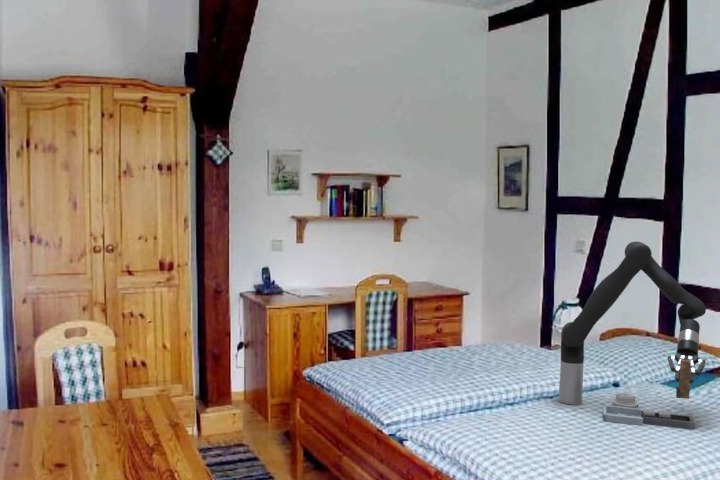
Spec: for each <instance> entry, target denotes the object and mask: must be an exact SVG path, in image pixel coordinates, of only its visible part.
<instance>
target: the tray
mask: <svg viewBox="0 0 720 480" xmlns="http://www.w3.org/2000/svg"><path fill="white" fill-rule="evenodd" d="M641 411H642V409H641V408H637V407H636V408H627V407H618V406H615V405H606V404H603V405H602V421H603V422H609V423H618V424H627V425H633V424H635V425H636V424H637V425H636V426H642V425H644V424H643V418H641V417H638V416H637V417H635V416H636V415H641ZM609 413H610V414H609ZM618 413H620V414H621V415H620V414H618ZM627 414H629V416H627Z"/></svg>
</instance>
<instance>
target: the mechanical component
mask: <svg viewBox="0 0 720 480" xmlns="http://www.w3.org/2000/svg"><path fill="white" fill-rule="evenodd" d="M611 404H612V406H619V407H627V408H634V407H636V408H638V407H639V402H637V401H636V396H635V395H634V394H631V393H627V392H619V393H616V394H615V398H614V399H612V402H611ZM637 406H638V407H637Z"/></svg>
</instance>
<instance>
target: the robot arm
mask: <svg viewBox="0 0 720 480" xmlns="http://www.w3.org/2000/svg"><path fill="white" fill-rule="evenodd" d="M652 254H653V253H652V250H651V248H650V246H648V245H647V244H645V243H643V242H642V241H641V242H640V241H631V242H629V243H628V244H627V245H626V247H625V248H624V256H625V257H624V258H623V259H622V261H621V262H620V264H619V265H618V266H617V267H616V268H615V269H614V270H613V271H612V272H611V273H609V274H608V275H607V276H606V277H605V278H603V279H602V280H601V282H600V283H598V285H597V286H596V287H595V289H593V291H592V292H591V294H590V295H589V297H588V298H587V300H586V303H585V304H584V306H583V308H582V309H581V311H580V312H579V314H578V316H577V317H575V319H574V320H572V321H570V322H567V323H565V324H564V325H563V327H562V328H561V337H560V371H559V385H558V386H559V387H558V389H559V390H558V403H562V404H565V405H575V406H576V405H581V404H583V390H584V389H583V387H584V385H583V384H584V364H585V363H584V360H585V351H584V350H585V349H584V346H585V341H586V339H587V338H588V336H589V334H590V332H591V330H593V328H594V326H595V325H596V324H597V322H599V321H600V319H601V318H602V317H603V316H605V314H606V313H607V312H608V311H609V309H610V308H612V306H613V305H614V304H615V302H617V300H618V299H619V298H620V296H621V295H622V293H623V292H624V291H625V290H626V288H627V287H628V285H629V284H630V282H631V281H632V279H634V277H635V276H637V274H638V273H639V272H640V271H642V272H644V274H645V275H646V276H647V277H648V278H649V279H650V280H651V281H652V282H653V283H654V284H655V286H656V287H657V289H659V290H660V292H662V294H663V295H664V296H665V297H666V298H667V299H668V300H669V301H670V302H671V303H673V304H681V305H680V306H678V309H677V317H678V321H679V325H680V328H679V333H678V337H677V345H676V346H677V347H676V354H674V355H672V356H671V355H667V361H668V362H667V363H668V365H669V368H670V371H671V372H672V373H674V374H675V375H674V379H675V381H676V383H679V377H680V359H682V360H690V361H691V372H690V385H691V384H693V383H694V382H695V376H700V375H701V374H702V372H703V370H704V368H705V367H706V362H707V361H706V359H701V358H699V346H700V331H701V330H700V328H701V325H700V323H699V321H697V319H698V318H700V317H702V316H704V315H705V314H706V312H707V308H706V305H705V303H704V302H703V301H702V300H701V299H700V298H698V297H697V296H695V295H693V294H692V293H690V292H689V291H688V290H686V289H684V287H682V285H681V284H680V283H679V282H678V281H677V280H676V279H675V278H674V277H673V276H672V275H671V274H670V273H669V272H667V271H666V270H665V269H664V268H662V267H661V265H659V263H658V262H657V261H656V260H655V259H654V258H653V256H652ZM695 319H696V320H695ZM675 361H676V363H677V365H676V367H675V365H674V363H675ZM697 364H698V367H697V369H695V365H697Z"/></svg>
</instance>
